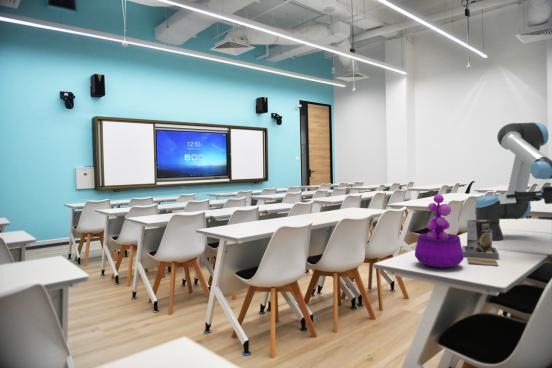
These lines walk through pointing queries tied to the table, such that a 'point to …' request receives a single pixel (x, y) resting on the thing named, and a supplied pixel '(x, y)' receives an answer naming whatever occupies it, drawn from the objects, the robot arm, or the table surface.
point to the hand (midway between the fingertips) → (498, 199)
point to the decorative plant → (439, 240)
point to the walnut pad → (482, 261)
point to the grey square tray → (481, 254)
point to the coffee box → (479, 236)
